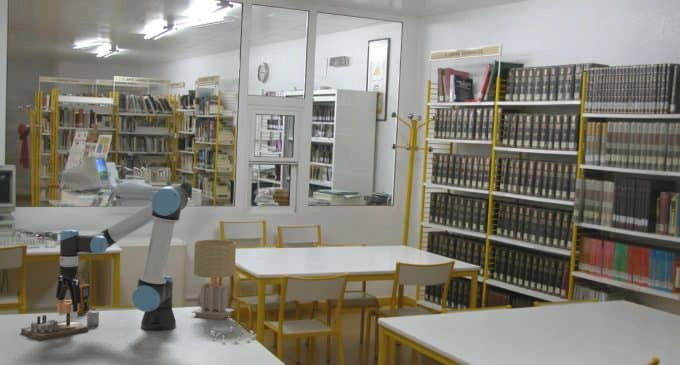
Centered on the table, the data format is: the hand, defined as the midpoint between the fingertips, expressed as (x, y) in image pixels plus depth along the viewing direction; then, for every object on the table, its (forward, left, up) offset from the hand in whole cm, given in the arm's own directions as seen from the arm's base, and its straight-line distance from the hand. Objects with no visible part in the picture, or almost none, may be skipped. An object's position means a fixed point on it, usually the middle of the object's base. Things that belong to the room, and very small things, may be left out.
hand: (68, 316), depth 326 cm
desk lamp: (-21, -64, -6) cm, 68 cm away
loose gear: (0, 0, +3) cm, 3 cm away
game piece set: (-58, -44, -6) cm, 73 cm away
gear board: (0, +6, -6) cm, 8 cm away
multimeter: (+22, -24, -6) cm, 33 cm away
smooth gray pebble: (0, -12, -6) cm, 13 cm away
